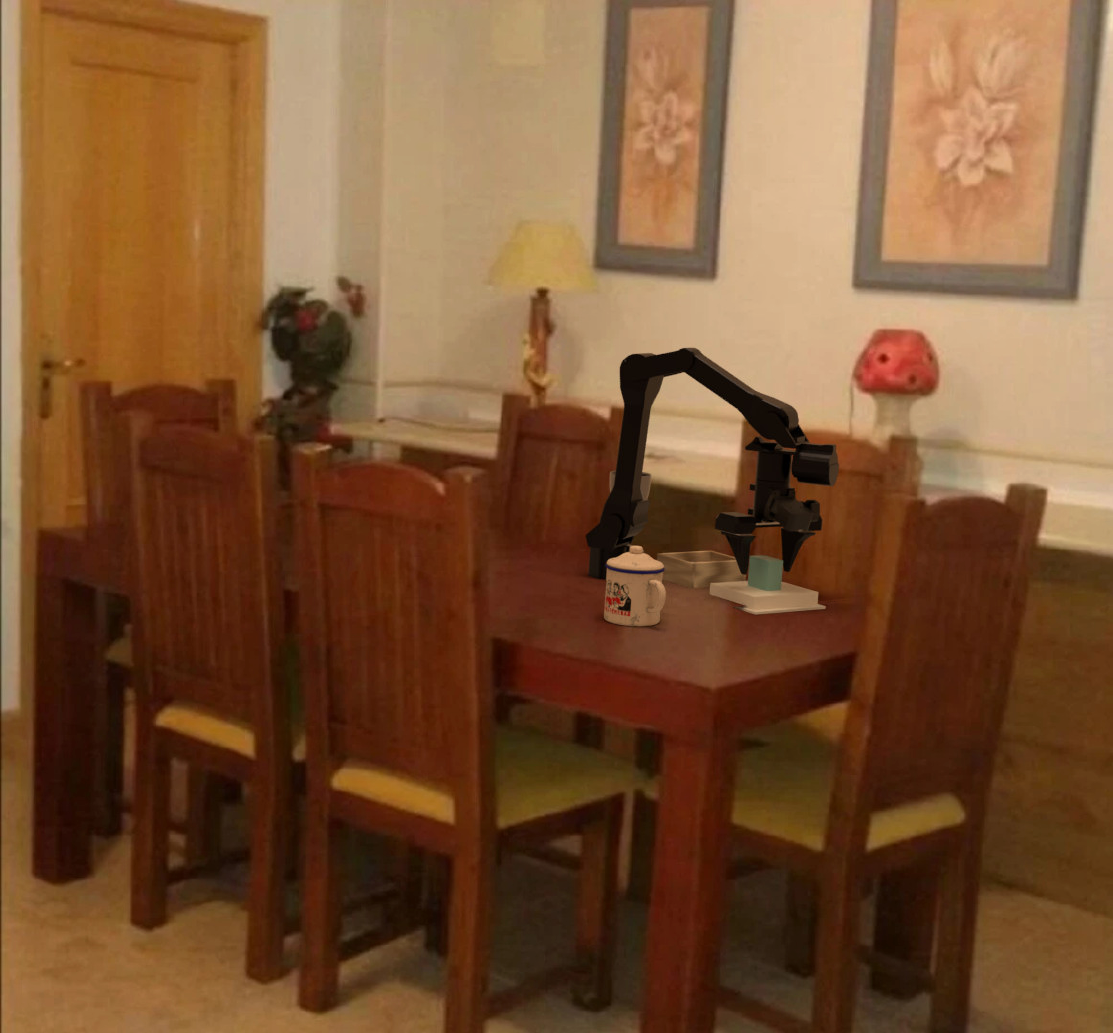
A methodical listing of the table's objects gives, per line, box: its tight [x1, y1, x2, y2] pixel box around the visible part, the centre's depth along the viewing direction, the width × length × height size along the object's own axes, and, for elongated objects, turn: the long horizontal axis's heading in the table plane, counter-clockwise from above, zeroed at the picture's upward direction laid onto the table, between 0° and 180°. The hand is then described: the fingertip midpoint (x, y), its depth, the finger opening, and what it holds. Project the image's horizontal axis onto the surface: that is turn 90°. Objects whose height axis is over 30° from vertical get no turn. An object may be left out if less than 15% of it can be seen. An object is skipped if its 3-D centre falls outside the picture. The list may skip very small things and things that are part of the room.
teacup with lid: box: [603, 545, 667, 627], centre depth 251 cm, size 12×9×12 cm
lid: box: [709, 554, 819, 610], centre depth 272 cm, size 14×12×7 cm
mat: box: [732, 603, 826, 615], centre depth 272 cm, size 15×14×1 cm
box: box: [656, 550, 747, 589], centre depth 285 cm, size 12×10×5 cm
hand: (765, 573), depth 272 cm, fingers open, 9 cm apart
